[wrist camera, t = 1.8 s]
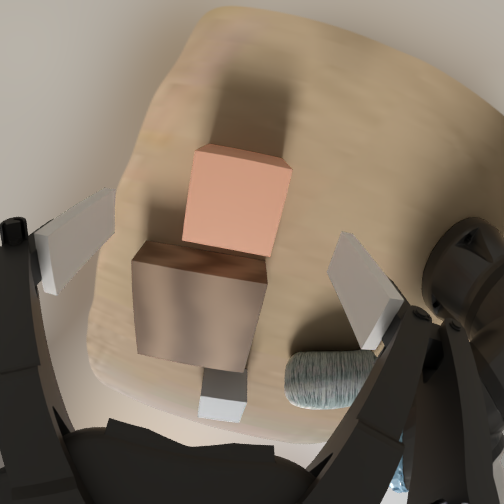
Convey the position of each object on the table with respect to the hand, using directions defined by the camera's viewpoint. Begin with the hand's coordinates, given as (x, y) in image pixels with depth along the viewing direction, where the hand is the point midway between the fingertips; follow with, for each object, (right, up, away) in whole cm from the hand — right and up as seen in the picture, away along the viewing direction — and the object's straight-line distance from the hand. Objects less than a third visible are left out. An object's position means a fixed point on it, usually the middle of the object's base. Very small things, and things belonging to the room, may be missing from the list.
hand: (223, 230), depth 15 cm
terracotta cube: (0, +5, +11) cm, 13 cm away
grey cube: (-3, -20, +24) cm, 31 cm away
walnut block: (-5, -7, +17) cm, 19 cm away
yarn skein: (+12, -16, +22) cm, 30 cm away
